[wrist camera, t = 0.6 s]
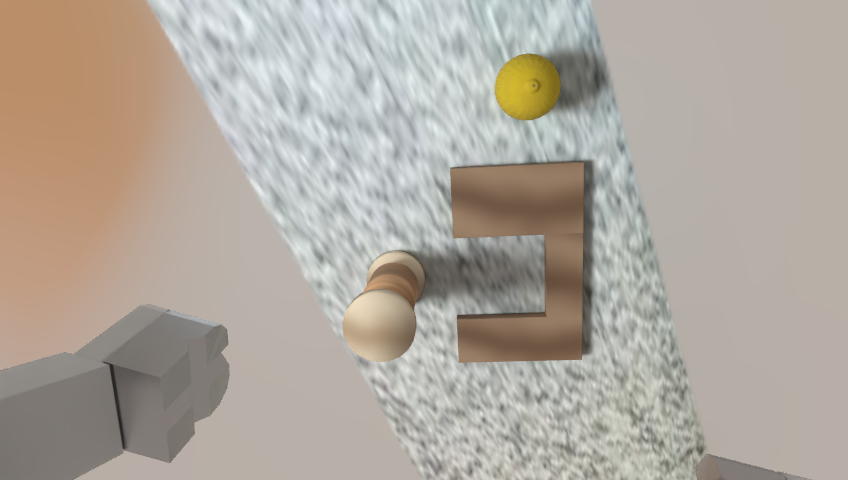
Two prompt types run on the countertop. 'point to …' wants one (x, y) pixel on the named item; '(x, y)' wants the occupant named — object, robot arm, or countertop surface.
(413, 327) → the bobbin
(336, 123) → the countertop surface
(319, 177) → the countertop surface
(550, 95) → the lemon
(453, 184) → the notched board
